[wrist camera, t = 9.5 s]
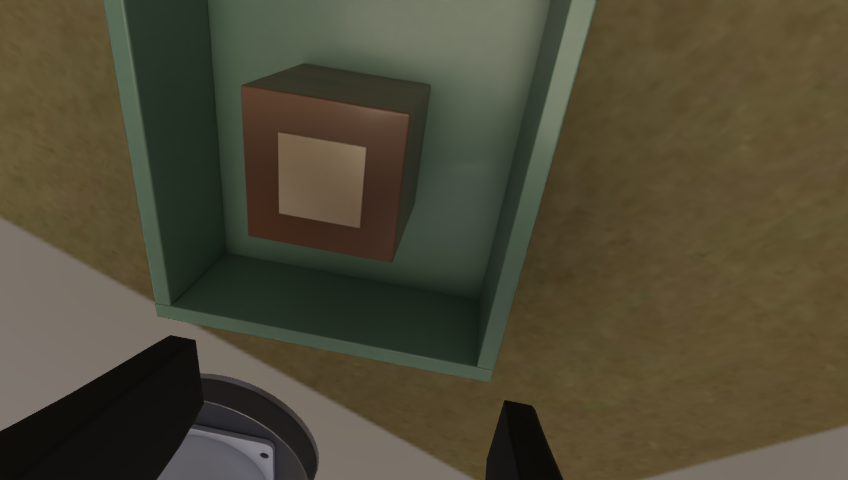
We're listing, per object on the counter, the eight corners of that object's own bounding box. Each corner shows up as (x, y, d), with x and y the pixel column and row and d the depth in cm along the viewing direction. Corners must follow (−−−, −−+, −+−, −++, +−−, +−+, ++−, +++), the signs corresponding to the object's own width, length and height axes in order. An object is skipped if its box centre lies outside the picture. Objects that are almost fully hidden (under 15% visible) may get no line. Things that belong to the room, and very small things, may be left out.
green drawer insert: (490, 306, 20) (489, 383, 16) (221, 254, 21) (156, 317, 17) (580, -46, 14) (615, -64, 10) (192, -104, 15) (76, -143, 11)
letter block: (414, 204, 18) (391, 265, 14) (301, 184, 18) (245, 238, 14) (431, 84, 16) (410, 114, 12) (302, 62, 16) (237, 85, 12)
